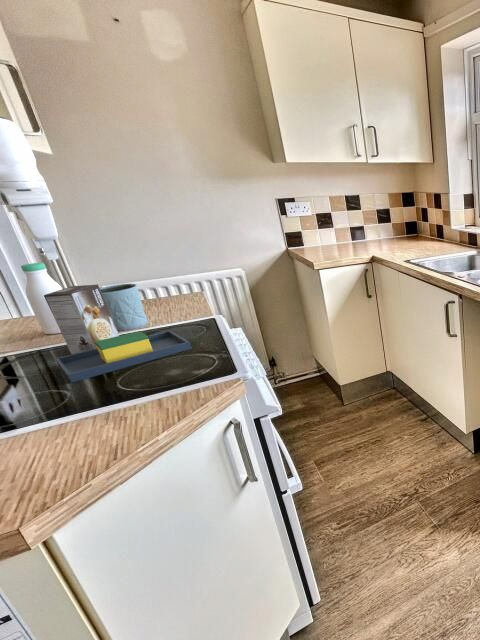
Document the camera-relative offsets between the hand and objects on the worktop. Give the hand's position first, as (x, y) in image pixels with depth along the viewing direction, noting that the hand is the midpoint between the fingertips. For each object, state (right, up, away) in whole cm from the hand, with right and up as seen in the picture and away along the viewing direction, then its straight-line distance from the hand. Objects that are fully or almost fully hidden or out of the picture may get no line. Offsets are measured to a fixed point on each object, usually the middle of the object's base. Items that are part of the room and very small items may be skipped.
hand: (49, 257), depth 99 cm
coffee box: (-3, -21, +14) cm, 26 cm away
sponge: (+11, -23, +8) cm, 27 cm away
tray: (+11, -24, +8) cm, 27 cm away
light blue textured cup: (-8, -15, +30) cm, 34 cm away
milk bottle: (-26, -17, +27) cm, 42 cm away
